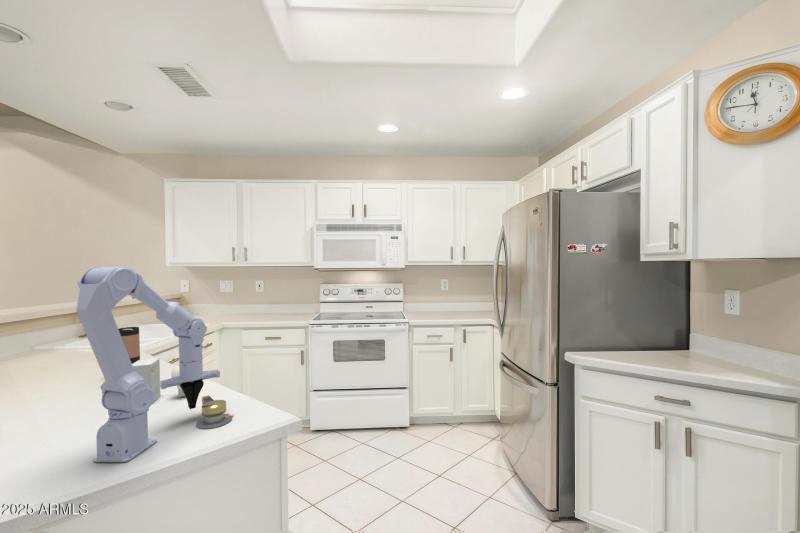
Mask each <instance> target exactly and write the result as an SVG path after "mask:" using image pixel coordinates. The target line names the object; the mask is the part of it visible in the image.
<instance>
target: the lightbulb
mask: <svg viewBox="0 0 800 533" xmlns="http://www.w3.org/2000/svg"><path fill="white" fill-rule="evenodd" d="M170 375H171V376H170V377H171V378H173V377H177V376H180V374H179V364H178V365H175V367H174V368H173V369H172V370H171V374H170ZM176 388H177V392H178V394H177V395H178V397H180V398H184V397H185V398H186V396H185V394H184V392H183V390H182V389H181V387H180V385H177V386H176Z"/></svg>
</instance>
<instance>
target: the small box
mask: <svg viewBox="0 0 800 533" xmlns="http://www.w3.org/2000/svg"><path fill="white" fill-rule="evenodd" d="M132 366H133V368H134V371H135V372H136V373H137V374H139V375H140V376H141V377H143V378H144V379H145V382H146V384H147V385H148V386H150V387H151V388H152V389H153V390H154V394H155V396H154V401H153V403H152V405H153V404H154V403H155V402H156V401H157V399H159V398H160V397H161V388H160V381H161V372H160V371H161V369H160V367H161V366H160V358H147V359H140V360H138V361H136V362H135V363H133V364H132Z"/></svg>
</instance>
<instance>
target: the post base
mask: <svg viewBox="0 0 800 533" xmlns="http://www.w3.org/2000/svg"><path fill="white" fill-rule="evenodd" d="M233 416H235V414H234V413H233V414H229V413H223V414H221V415H218V416H214V417H202V418H200V419H199V420H198V421H197V422H195V427H196V428H197V429H199V430H212V429H216V428H220V427H223V426H226V425H227V424H230V423H231V422H232V420H233Z"/></svg>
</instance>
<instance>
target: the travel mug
mask: <svg viewBox="0 0 800 533" xmlns="http://www.w3.org/2000/svg"><path fill="white" fill-rule="evenodd" d="M118 330H119V332H120V335H121V338H122V340H123V343H124V345H125V348H126V350H127V353H128V356H129V358H130V361H131V363H132V364H133V363H135V362H136V361H138V360H141V350H140V349H141V348H140V347H141V345H140V327H139V326H127V327H120V328H119V327H118Z"/></svg>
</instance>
